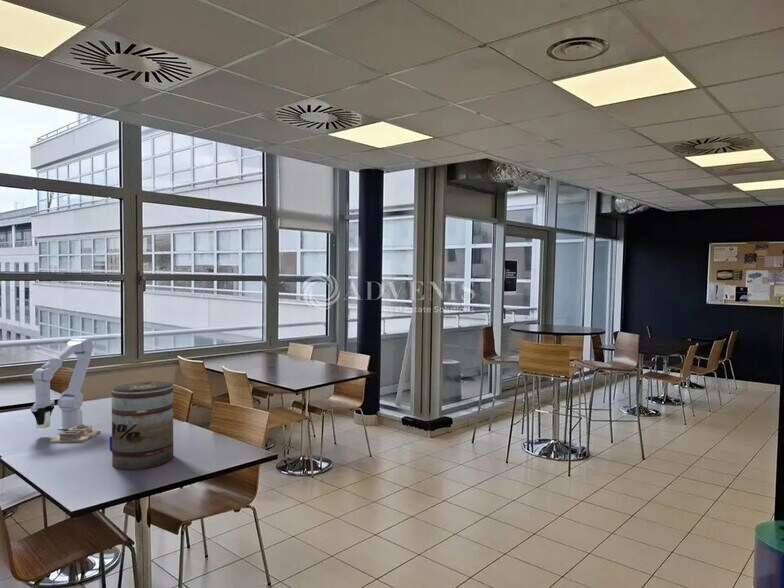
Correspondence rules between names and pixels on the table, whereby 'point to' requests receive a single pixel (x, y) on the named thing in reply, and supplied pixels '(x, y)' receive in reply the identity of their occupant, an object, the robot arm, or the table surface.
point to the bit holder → (76, 435)
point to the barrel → (142, 425)
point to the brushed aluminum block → (45, 421)
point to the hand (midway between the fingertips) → (43, 423)
